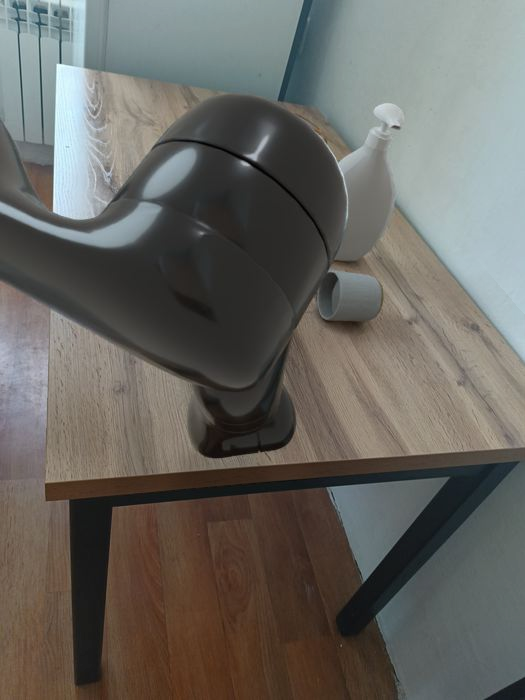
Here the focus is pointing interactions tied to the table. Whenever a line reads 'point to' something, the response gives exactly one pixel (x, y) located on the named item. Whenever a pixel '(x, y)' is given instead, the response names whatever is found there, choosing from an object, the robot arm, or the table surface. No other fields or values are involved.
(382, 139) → the soap bottle
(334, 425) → the table surface
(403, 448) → the table surface
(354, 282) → the ceramic mug
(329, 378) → the table surface
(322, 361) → the table surface
